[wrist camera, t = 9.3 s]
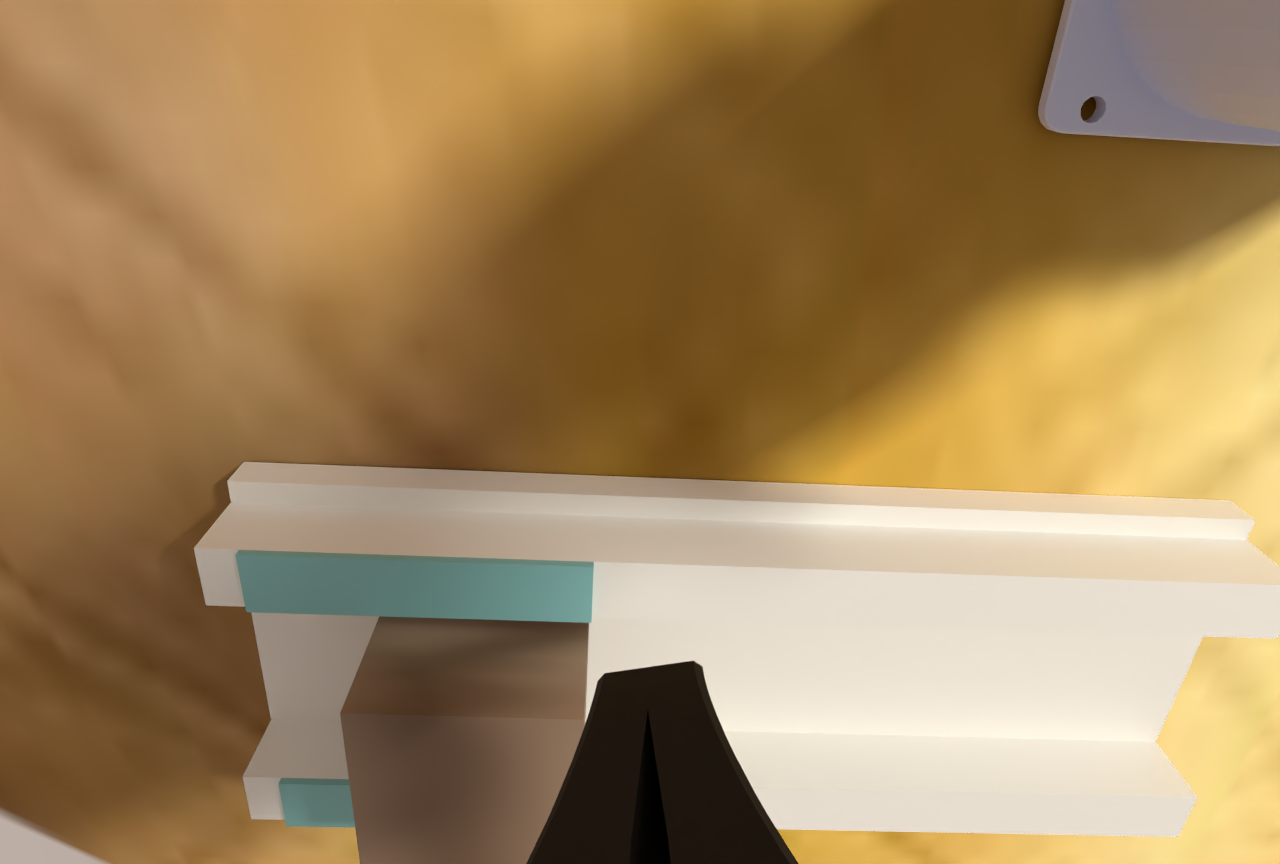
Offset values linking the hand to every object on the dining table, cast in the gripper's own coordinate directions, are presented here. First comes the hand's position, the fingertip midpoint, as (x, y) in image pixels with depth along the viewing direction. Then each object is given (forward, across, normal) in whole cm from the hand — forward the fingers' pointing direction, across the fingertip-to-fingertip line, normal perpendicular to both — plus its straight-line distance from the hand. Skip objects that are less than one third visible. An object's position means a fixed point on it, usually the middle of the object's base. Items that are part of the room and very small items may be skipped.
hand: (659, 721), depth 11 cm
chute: (+10, -1, +8) cm, 13 cm away
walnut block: (+9, +5, +6) cm, 12 cm away
